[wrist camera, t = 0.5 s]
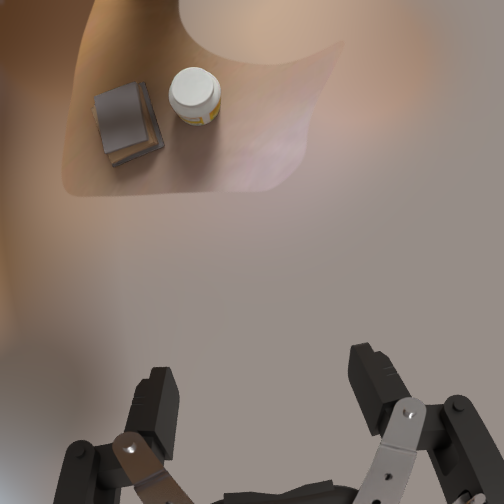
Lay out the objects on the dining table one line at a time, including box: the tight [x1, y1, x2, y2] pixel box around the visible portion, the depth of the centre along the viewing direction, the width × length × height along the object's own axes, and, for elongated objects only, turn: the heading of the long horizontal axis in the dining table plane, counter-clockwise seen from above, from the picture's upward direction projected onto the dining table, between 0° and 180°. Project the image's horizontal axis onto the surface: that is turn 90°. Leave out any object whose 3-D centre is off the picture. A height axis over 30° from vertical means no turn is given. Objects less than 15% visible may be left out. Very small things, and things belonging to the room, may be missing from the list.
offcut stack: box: [91, 82, 165, 167], centre depth 32 cm, size 9×7×4 cm
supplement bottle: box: [169, 67, 221, 126], centre depth 30 cm, size 5×5×10 cm
